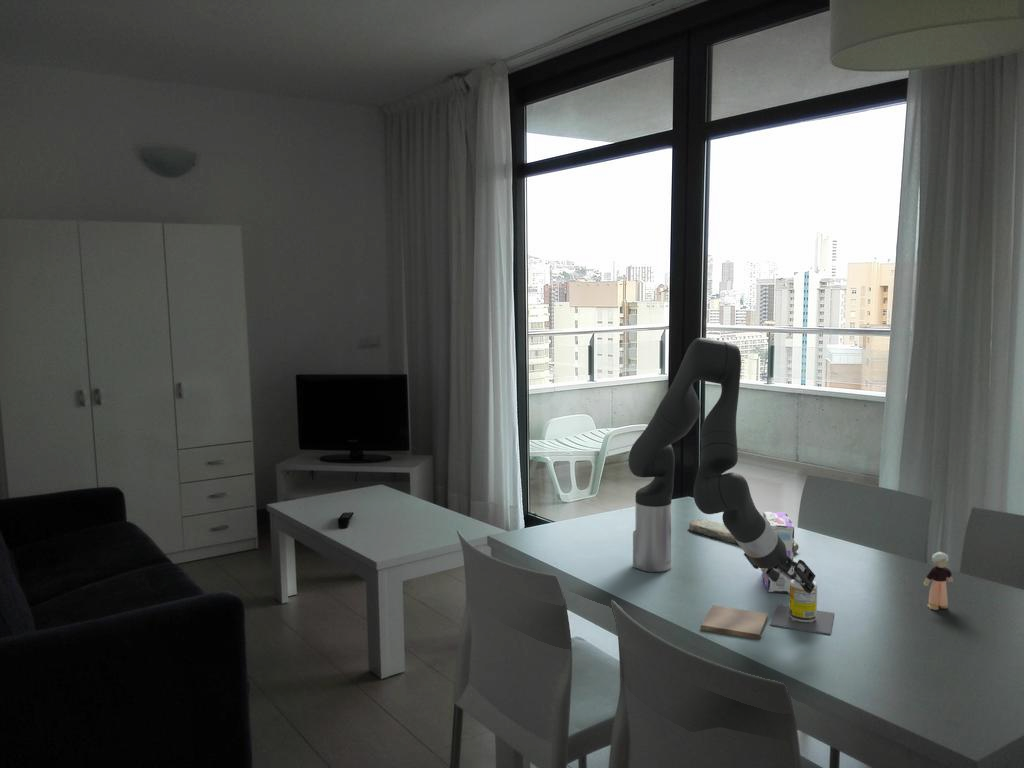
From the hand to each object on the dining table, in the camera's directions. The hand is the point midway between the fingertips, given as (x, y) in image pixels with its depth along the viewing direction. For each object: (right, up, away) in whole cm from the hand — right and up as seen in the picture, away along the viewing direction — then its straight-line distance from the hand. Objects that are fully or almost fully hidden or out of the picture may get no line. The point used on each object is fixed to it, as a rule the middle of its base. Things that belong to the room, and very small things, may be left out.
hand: (793, 583), depth 169 cm
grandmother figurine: (+36, -8, +9) cm, 38 cm away
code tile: (+3, -9, +3) cm, 10 cm away
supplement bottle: (+3, -8, +3) cm, 9 cm away
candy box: (+5, -7, +25) cm, 26 cm away
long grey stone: (+6, -3, +61) cm, 61 cm away
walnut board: (-12, -9, +1) cm, 15 cm away
